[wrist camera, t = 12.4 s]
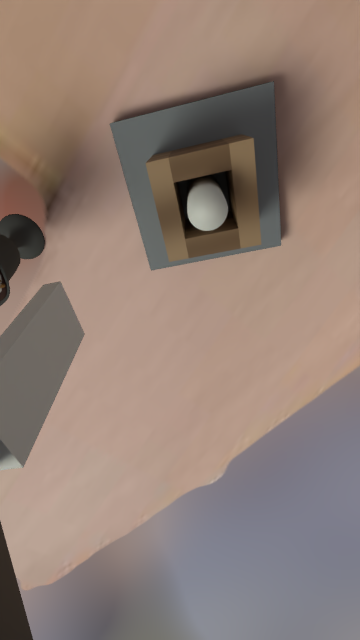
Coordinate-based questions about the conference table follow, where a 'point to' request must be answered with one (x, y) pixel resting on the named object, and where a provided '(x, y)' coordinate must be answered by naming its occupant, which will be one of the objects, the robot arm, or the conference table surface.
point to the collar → (242, 193)
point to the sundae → (17, 247)
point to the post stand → (211, 190)
